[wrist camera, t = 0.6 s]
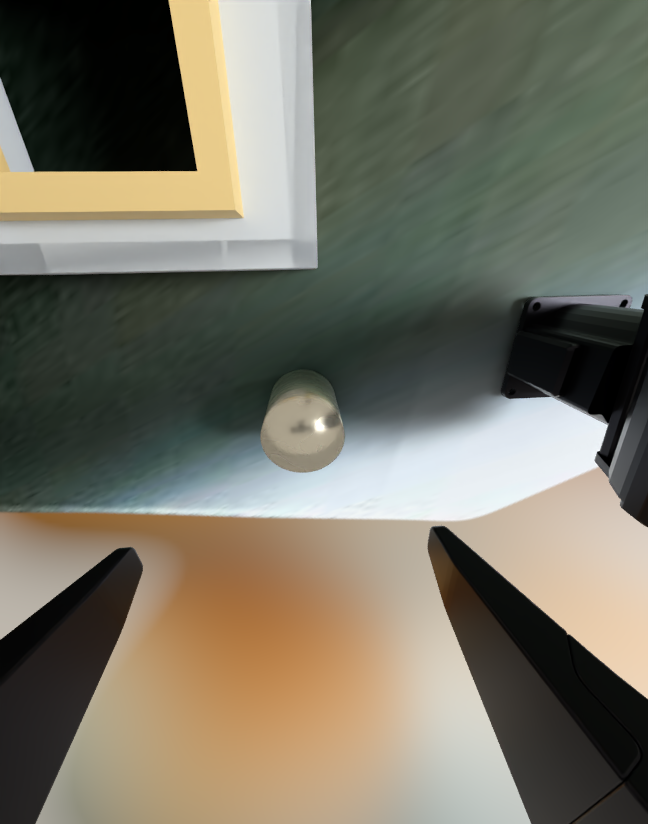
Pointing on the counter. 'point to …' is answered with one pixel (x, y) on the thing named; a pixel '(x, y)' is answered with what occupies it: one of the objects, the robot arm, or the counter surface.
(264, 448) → the silver metal can
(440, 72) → the counter surface
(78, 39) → the counter surface
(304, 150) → the square frame box
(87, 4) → the counter surface
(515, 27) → the counter surface
